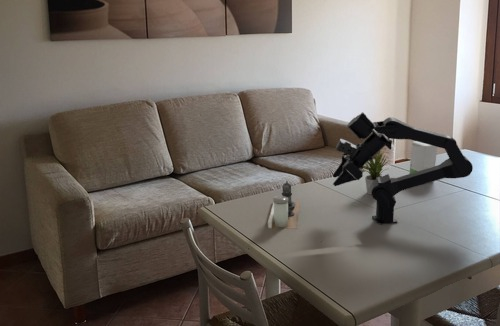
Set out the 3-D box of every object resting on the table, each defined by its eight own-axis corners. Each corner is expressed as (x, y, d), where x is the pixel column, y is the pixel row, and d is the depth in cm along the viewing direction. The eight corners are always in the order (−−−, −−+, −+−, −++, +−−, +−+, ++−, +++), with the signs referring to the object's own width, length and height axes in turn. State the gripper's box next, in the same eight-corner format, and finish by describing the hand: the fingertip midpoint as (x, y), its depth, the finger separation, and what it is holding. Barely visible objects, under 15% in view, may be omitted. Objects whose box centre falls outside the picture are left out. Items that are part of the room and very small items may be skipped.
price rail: (277, 204, 198) (277, 196, 197) (271, 231, 174) (271, 222, 174) (274, 204, 198) (274, 196, 198) (267, 231, 175) (267, 222, 174)
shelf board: (300, 205, 197) (300, 202, 197) (296, 232, 173) (296, 228, 173) (275, 204, 198) (275, 201, 198) (268, 231, 174) (268, 228, 174)
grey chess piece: (284, 209, 189) (284, 177, 186) (298, 213, 186) (299, 180, 182) (274, 214, 185) (274, 181, 182) (288, 218, 181) (289, 184, 178)
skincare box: (408, 178, 225) (410, 141, 221) (420, 175, 228) (423, 139, 224) (422, 183, 218) (425, 145, 214) (435, 181, 221) (438, 143, 216)
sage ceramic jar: (290, 226, 175) (290, 200, 172) (275, 228, 174) (275, 201, 171) (286, 221, 179) (286, 195, 177) (272, 222, 178) (271, 196, 176)
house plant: (362, 184, 219) (363, 144, 214) (396, 188, 212) (398, 148, 207) (350, 194, 207) (351, 153, 202) (386, 200, 200) (388, 157, 196)
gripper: (350, 125, 184) (316, 156, 188) (352, 137, 166) (316, 172, 170) (373, 148, 185) (339, 178, 189) (378, 163, 167) (341, 196, 171)
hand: (333, 180), depth 180 cm, fingers open, 9 cm apart
